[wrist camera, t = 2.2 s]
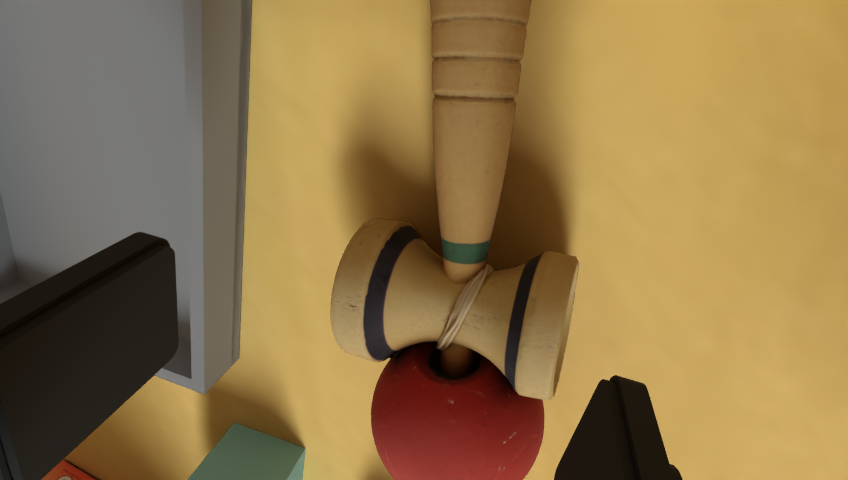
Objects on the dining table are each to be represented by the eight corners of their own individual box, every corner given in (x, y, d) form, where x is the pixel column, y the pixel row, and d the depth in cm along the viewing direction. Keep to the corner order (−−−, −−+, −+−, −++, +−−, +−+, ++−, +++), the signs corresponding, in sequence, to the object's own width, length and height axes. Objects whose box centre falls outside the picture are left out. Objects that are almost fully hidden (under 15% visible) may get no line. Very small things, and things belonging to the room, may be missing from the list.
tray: (263, -336, 12) (198, -418, 10) (239, 358, 22) (204, 394, 20) (-117, -388, 14) (-245, -467, 12) (23, 280, 24) (-30, 306, 22)
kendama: (354, -45, 16) (360, 422, 21) (290, -138, 10) (321, 555, 15) (593, -42, 15) (541, 434, 20) (684, -138, 9) (577, 575, 14)
